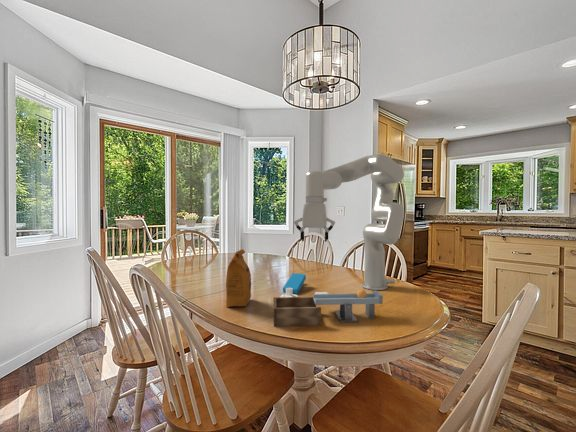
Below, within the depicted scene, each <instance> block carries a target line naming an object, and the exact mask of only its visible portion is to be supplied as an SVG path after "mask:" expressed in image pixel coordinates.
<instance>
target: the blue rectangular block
mask: <svg viewBox="0 0 576 432" xmlns="http://www.w3.org/2000/svg"><path fill="white" fill-rule="evenodd" d="M306 279H307V276H306V274H305V273H295V272H294V273H293V272H292V273H291V275H290V277H289V278H288V280H287V281H286V283H285V284H284V286H283V287H282V292H283V294H284V293H285V294H286V288H293V293H292V294H295V295H298V294H299V292H300V290H301V289H302V286H303V285H304V284H305V281H306Z"/></svg>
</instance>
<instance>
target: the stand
mask: <svg viewBox="0 0 576 432" xmlns="http://www.w3.org/2000/svg"><path fill="white" fill-rule="evenodd" d="M375 307H376V304H365V315H366V317H367V318H368V319H375V315H376V313H375V311H376V310H375ZM334 313H335V315H336V317H337V318H338V320H339V322H340V323H358V322H359V320H358V318H357V317H356V316H355V315H354V313H353V304H343V305H339V309H335V310H334Z"/></svg>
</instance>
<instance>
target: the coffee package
mask: <svg viewBox="0 0 576 432" xmlns="http://www.w3.org/2000/svg"><path fill="white" fill-rule="evenodd" d="M245 252H246V250H244V248H242V249H240V250H237V251H235V253H234V256H233V257H232V259H231V260H230V262H229V264H228V266H227V270H226V279H225V289H226V292H225V293H226V294H225V295H226V296H225V297H226V298H225V299H226V302H225V303H226V305H225V306H226V308H230V307H233V308H234V307H246V306H247V305H248V304H249V302H250V300H251V298H252V293H251V292H252V290H251V289H252V273H251V271H250V267H249V266H248V263H246V261H245V258H244V256H243V255H244V254H245Z"/></svg>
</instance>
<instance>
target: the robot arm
mask: <svg viewBox="0 0 576 432" xmlns="http://www.w3.org/2000/svg"><path fill="white" fill-rule="evenodd" d="M368 175H370V179H371V182H372V184H373V185H374V188H375V197H374V202H373V206H372V208H371V209H372V210H371V214H370V215H371V216H370V217H371V219H372V220H374V221H375V222H380V223H375V222H374V223H373V222H371V223H368V224H366V225H365V226H364V228H363V231H362V236H363V237H362V238H363V243H364V281H363V282H362V283H361V287H362V288H363V289H367V290H370V291H371V290H372V291H373V290H377V291H385V290H387V289H389V285H388V284H391V285H392V284H395V279H390V278H386V277H385V276H386V275H385V274H386V271H385V270H386V268H385V266H386V250H385V247H384V245H395V244H396V243H397V242H398V240H399V237H400V235H401V229H402V227H403V222H404V220H405V219H404V217H405V210H404V207H403V205H402V204H400V203H399V202H393V200H394V196H395V195H394V190H393V188H392V187H391V185H390V184H398V183H400V182H402V180H403V179H404V177H405V172H404V169H403V167H402V166H401V165H400V164H399V163H398V162H396V161H395V160H393V159H392V158H390V157H389V156H388V155H386V154H384V153H375V154H371V155H366V156H362V157H361V158H358V159H355V160H353V161H350V162H347V163H344V164H341V165H339V166H336V167H333V168H329V169H327V170H324V171H317V170H312V171H308V172H306V174H305V204H303V209H302V217H300V218H299V219H297V220H296V219H295V220H294V222H293V223H294V225H295V226H296V229H297V230H298V231H299V232H300V240H301V241H302V242H305V229H306V228H309V229H312V228H313V229H314V228H316V229H321V228H322V229H323V230H324V231H325V232H324V242H327V241H328V240H329V232H330V231H331V230H332V229H333V228H334V226H335V224H336V221H335V220H332V219H330V218H328V217H327V207H326V204H325V203H324V202H327V201H328V198H327V197H324V191H325V190H329V191H330V190H335V189H336V190H337V189H338V188H339V187H340V186H341V185H342V183H349V182H353V181H357V180H359V179H360V178H363V177H366V176H368ZM301 222H302V226H300V225H299V223H301ZM327 222H329V223H330V226H328V227H327Z"/></svg>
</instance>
